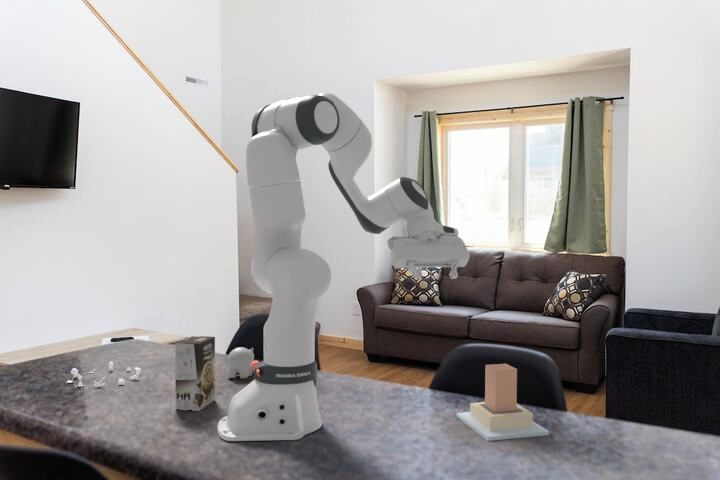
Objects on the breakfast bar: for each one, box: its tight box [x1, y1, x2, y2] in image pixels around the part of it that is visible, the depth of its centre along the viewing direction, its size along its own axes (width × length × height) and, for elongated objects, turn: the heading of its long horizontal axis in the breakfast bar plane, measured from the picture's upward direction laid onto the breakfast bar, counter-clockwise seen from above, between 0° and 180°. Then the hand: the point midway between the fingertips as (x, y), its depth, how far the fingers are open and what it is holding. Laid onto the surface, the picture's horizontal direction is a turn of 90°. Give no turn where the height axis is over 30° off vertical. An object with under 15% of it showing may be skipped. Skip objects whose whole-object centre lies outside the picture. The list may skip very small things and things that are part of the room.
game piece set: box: [66, 361, 141, 388], centre depth 174 cm, size 19×20×4 cm
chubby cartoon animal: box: [226, 346, 255, 380], centre depth 178 cm, size 7×12×8 cm, turn 166°
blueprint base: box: [456, 401, 550, 442], centre depth 136 cm, size 14×16×4 cm
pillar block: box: [484, 363, 518, 412], centre depth 135 cm, size 5×5×9 cm
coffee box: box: [174, 335, 216, 412], centre depth 150 cm, size 9×6×16 cm
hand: (436, 277), depth 154 cm, fingers open, 8 cm apart
